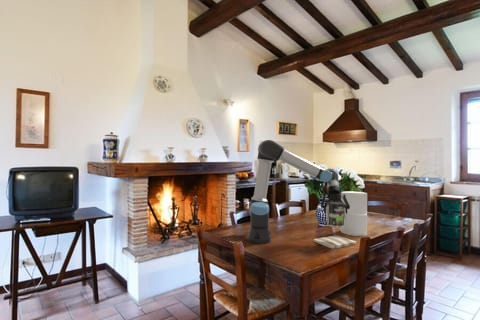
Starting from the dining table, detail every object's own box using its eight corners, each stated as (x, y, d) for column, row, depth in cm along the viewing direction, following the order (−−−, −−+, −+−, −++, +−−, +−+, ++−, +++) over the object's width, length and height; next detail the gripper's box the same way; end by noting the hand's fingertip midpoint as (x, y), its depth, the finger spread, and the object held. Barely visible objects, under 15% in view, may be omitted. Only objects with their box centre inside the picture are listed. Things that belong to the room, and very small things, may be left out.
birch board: (332, 248, 170) (332, 246, 170) (313, 241, 184) (313, 239, 184) (356, 244, 180) (356, 241, 180) (336, 237, 194) (336, 235, 194)
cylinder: (339, 228, 218) (340, 191, 217) (364, 230, 213) (365, 191, 213) (341, 234, 201) (342, 194, 201) (368, 236, 197) (369, 195, 196)
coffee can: (347, 226, 178) (348, 203, 178) (332, 227, 176) (333, 204, 175) (337, 222, 188) (338, 200, 188) (323, 223, 185) (323, 201, 185)
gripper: (350, 192, 194) (354, 221, 179) (315, 191, 199) (316, 219, 184) (352, 185, 189) (356, 214, 174) (316, 184, 193) (317, 213, 178)
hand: (336, 217), depth 179 cm, fingers closed on coffee can, 10 cm apart
